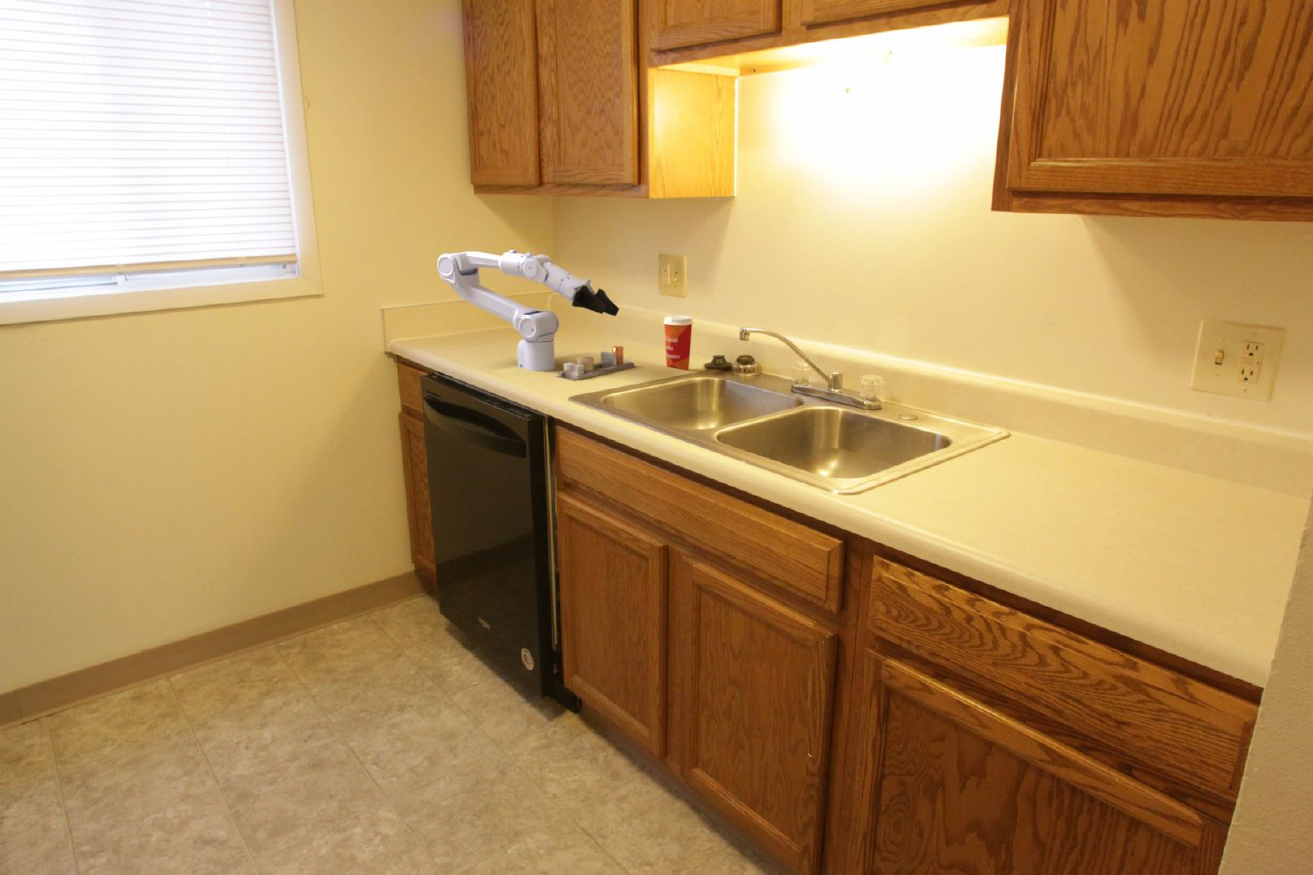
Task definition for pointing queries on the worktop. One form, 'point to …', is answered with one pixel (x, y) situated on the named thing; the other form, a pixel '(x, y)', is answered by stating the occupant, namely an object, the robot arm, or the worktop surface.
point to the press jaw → (613, 358)
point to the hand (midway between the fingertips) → (610, 311)
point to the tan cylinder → (586, 363)
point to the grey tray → (577, 372)
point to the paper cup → (678, 341)
